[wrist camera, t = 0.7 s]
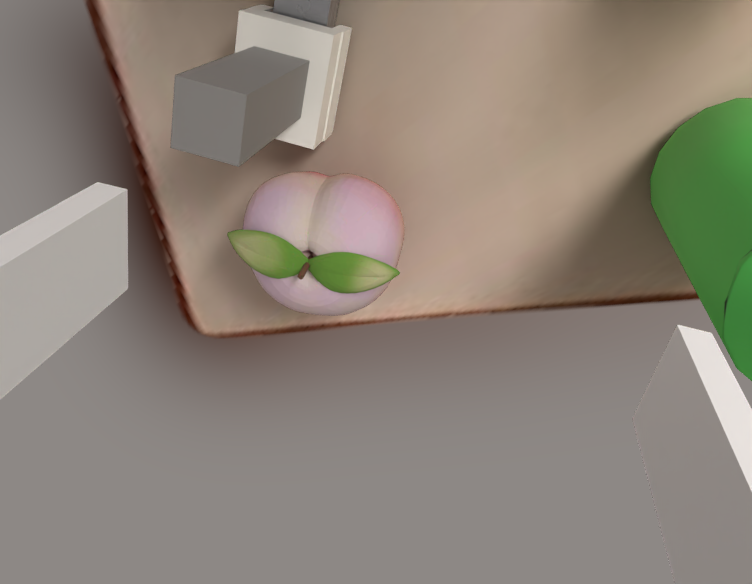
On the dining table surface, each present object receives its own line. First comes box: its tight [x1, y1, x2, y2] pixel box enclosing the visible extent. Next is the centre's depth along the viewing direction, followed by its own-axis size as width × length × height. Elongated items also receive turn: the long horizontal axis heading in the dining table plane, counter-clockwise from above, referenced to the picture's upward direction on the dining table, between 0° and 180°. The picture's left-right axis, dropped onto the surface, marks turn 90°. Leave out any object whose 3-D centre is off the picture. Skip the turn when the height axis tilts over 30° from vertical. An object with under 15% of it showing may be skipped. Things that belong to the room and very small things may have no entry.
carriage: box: [171, 4, 352, 167], centre depth 32 cm, size 6×5×13 cm
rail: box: [273, 0, 339, 28], centre depth 36 cm, size 12×3×2 cm, turn 168°
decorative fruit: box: [227, 171, 404, 316], centre depth 37 cm, size 9×8×10 cm
